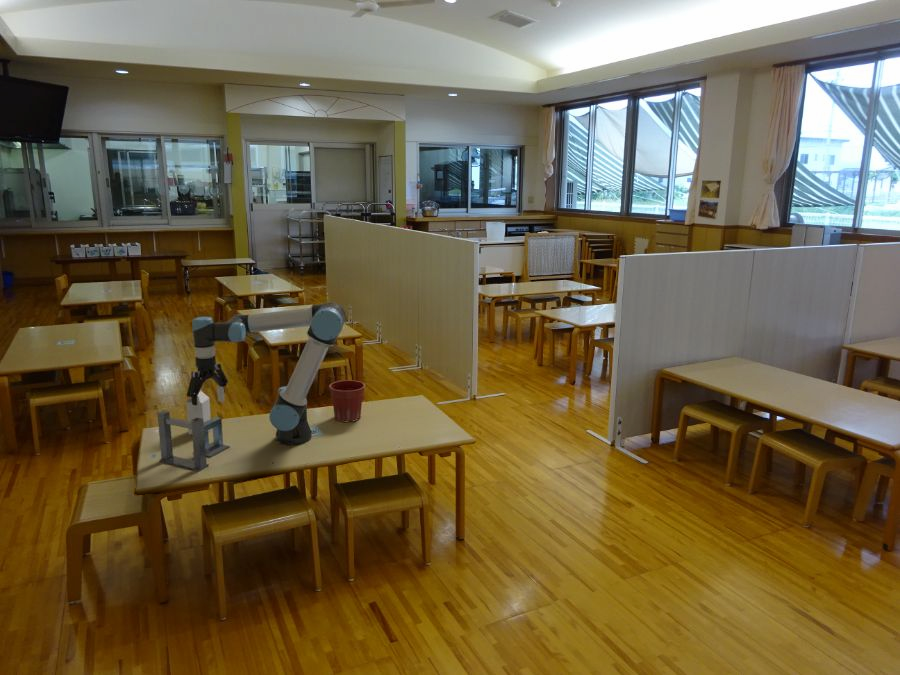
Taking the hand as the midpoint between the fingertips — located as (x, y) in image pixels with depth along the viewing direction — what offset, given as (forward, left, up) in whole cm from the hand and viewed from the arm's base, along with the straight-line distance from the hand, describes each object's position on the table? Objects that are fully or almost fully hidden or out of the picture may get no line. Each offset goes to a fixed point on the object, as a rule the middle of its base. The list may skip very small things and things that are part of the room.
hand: (209, 406), depth 259 cm
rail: (+1, +15, -19) cm, 24 cm away
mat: (0, 0, -19) cm, 19 cm away
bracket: (0, 0, -18) cm, 18 cm away
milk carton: (+18, -12, -19) cm, 29 cm away
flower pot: (-30, -56, -19) cm, 67 cm away
